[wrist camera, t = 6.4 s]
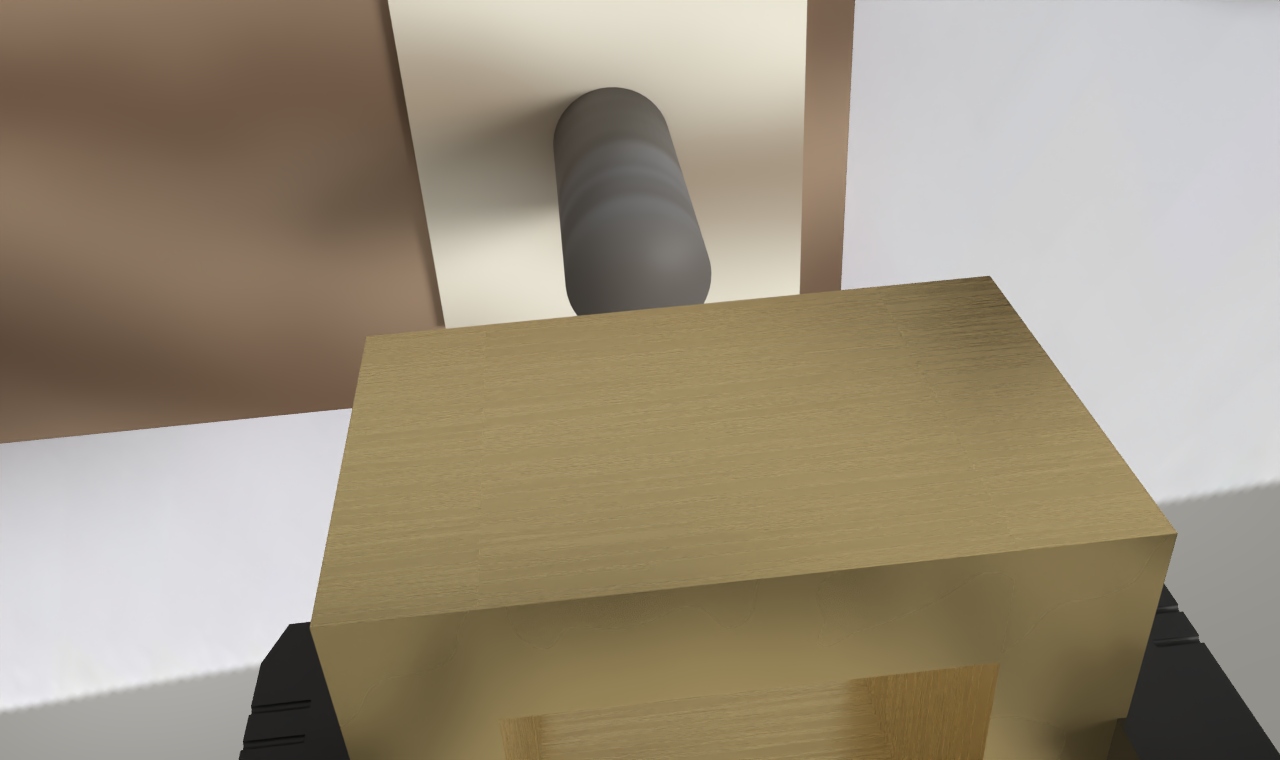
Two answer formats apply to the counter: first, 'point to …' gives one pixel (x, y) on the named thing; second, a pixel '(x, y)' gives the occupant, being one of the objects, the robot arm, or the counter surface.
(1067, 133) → the counter surface
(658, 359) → the collar
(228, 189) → the post board
